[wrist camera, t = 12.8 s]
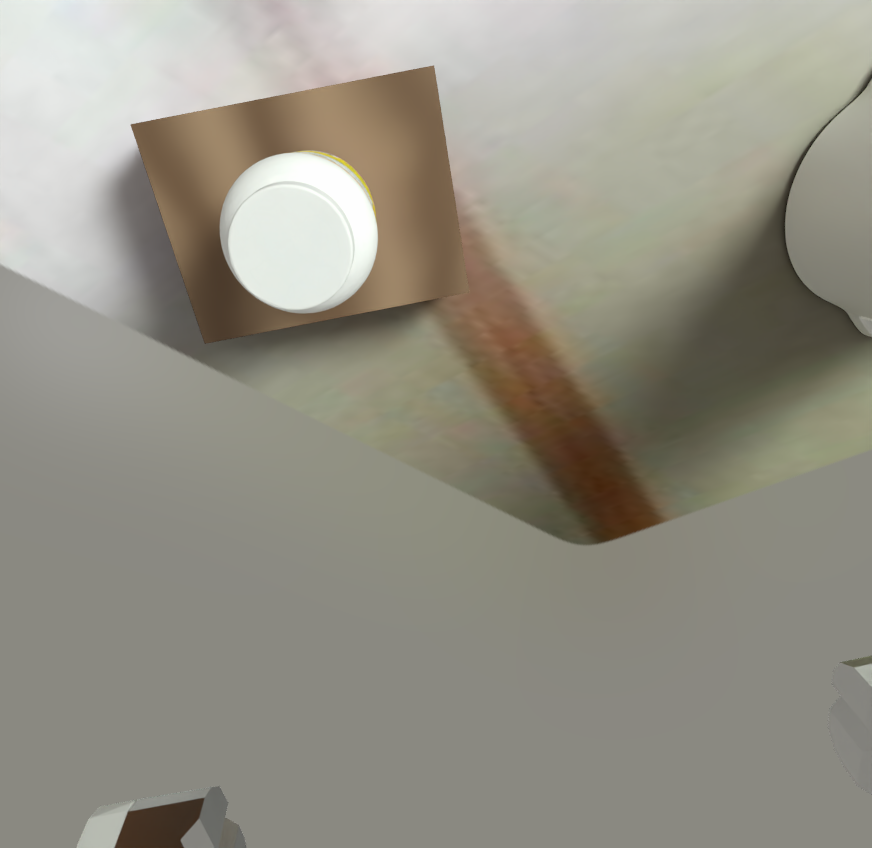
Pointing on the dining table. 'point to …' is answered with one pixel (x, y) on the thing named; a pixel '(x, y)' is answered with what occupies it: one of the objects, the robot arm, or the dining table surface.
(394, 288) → the walnut stand
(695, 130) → the dining table surface
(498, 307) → the dining table surface
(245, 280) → the supplement bottle
